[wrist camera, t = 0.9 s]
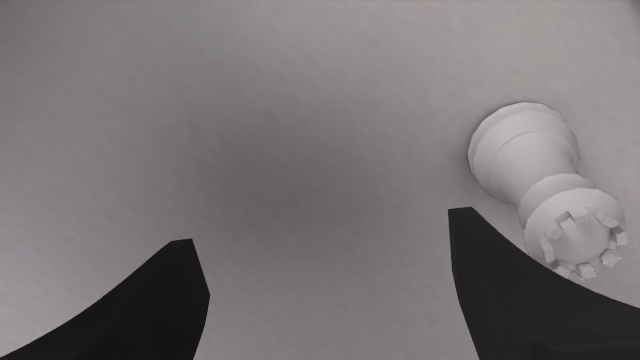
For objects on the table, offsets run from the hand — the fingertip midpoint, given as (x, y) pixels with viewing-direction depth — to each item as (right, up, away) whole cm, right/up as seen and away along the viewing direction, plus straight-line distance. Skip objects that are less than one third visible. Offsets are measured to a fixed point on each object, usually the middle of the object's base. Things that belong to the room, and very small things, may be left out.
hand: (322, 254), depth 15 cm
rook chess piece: (+9, +4, +9) cm, 13 cm away
